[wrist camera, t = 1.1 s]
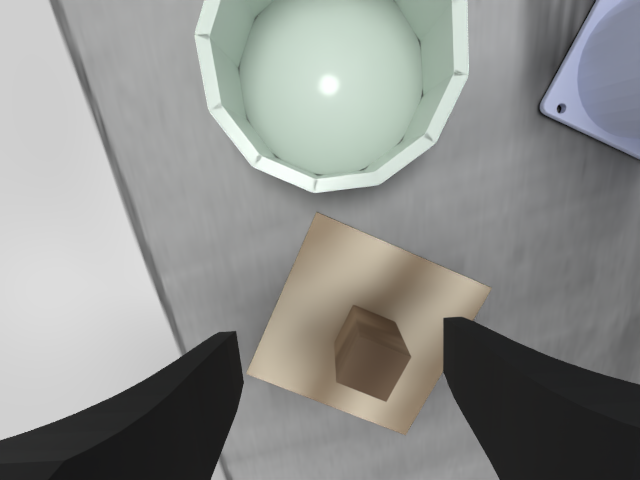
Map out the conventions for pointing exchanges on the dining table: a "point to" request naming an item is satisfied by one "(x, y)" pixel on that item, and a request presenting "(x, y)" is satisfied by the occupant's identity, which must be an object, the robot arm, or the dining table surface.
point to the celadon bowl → (332, 83)
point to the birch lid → (362, 325)
